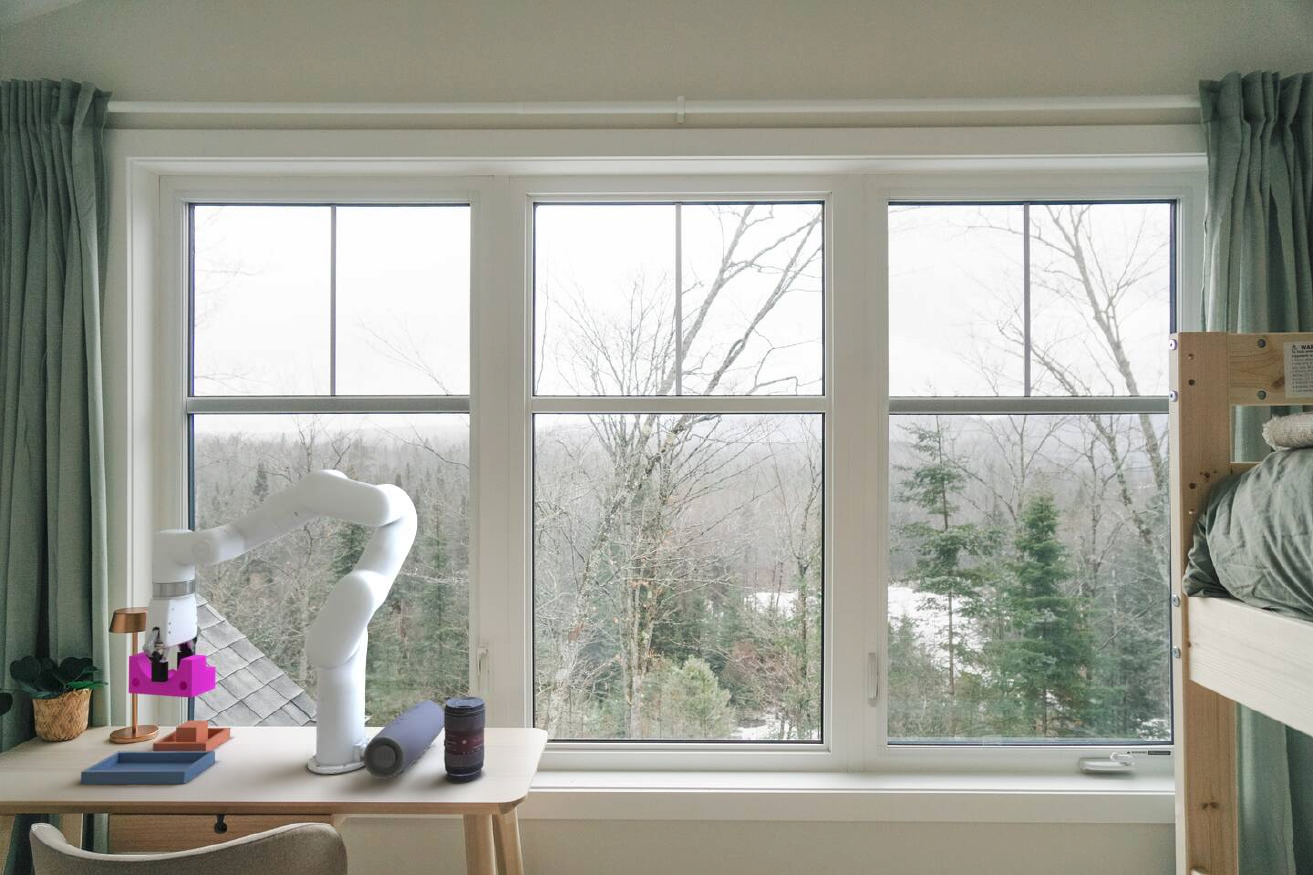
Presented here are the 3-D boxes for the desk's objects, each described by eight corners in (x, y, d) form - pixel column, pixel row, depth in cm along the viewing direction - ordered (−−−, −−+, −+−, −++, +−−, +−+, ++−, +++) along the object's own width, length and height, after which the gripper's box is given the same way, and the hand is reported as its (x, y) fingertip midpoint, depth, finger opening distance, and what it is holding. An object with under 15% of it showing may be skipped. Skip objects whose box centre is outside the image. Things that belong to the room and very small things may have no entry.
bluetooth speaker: (407, 741, 175) (408, 697, 175) (447, 742, 174) (447, 698, 175) (360, 784, 153) (360, 733, 153) (405, 786, 152) (405, 734, 152)
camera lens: (484, 782, 153) (484, 706, 154) (442, 786, 152) (442, 709, 152) (485, 766, 161) (485, 694, 162) (445, 769, 160) (445, 696, 160)
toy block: (215, 688, 161) (215, 652, 161) (191, 697, 155) (192, 659, 155) (154, 684, 164) (154, 648, 164) (128, 693, 158) (128, 656, 158)
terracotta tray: (230, 737, 178) (230, 727, 178) (205, 754, 168) (206, 743, 168) (179, 738, 178) (179, 727, 178) (152, 754, 168) (152, 743, 168)
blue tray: (215, 762, 164) (215, 750, 164) (184, 783, 153) (184, 771, 153) (117, 762, 164) (118, 751, 164) (80, 783, 153) (80, 771, 153)
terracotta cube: (208, 740, 175) (208, 720, 175) (196, 747, 171) (196, 727, 171) (188, 740, 175) (188, 720, 175) (175, 747, 171) (176, 727, 171)
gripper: (184, 582, 169) (183, 664, 168) (124, 597, 151) (123, 688, 151) (217, 582, 168) (216, 665, 168) (161, 597, 151) (160, 689, 150)
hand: (172, 675), depth 159 cm, fingers closed on toy block, 6 cm apart
